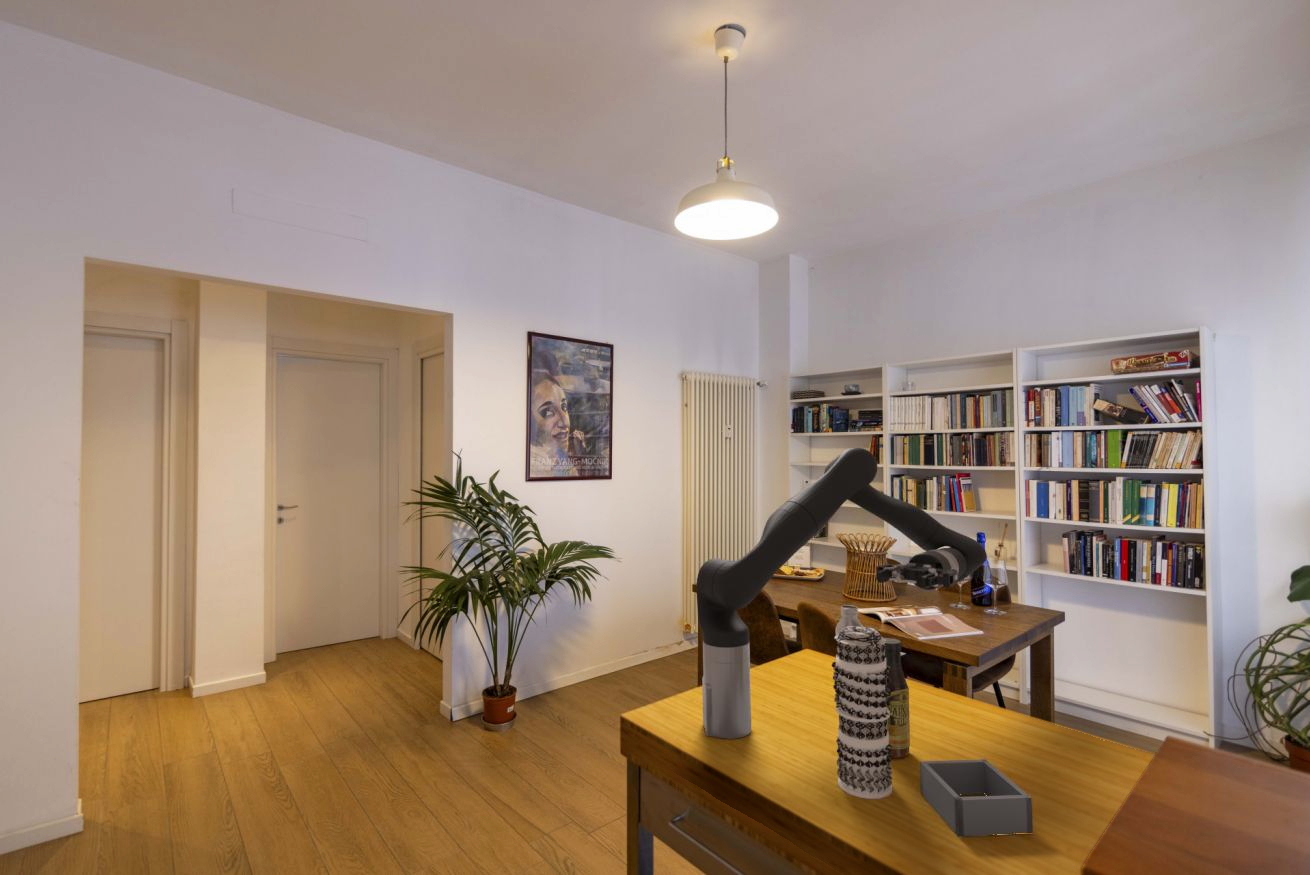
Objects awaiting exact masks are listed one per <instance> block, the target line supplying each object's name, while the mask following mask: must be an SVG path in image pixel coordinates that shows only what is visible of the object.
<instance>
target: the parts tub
mask: <svg viewBox="0 0 1310 875" xmlns="http://www.w3.org/2000/svg"><path fill="white" fill-rule="evenodd" d="M919 777H920V779H919V780H920V795H921V796H922V797H923V798H924V799H925V800H926V801H927V803H928V804H929V805H930V806H931V807H932V808H933V809H934V811H935V812H936V813H937V814H938V815H939V816H940V817H941V819H942V818H943V819H944V820H945V821H944V820H943V819H942V820H943V821H944V822H945V823H946V822H947V823H946V825H948V827H949V826H950V827H951V828H950V827H949V828H950V829H951V830H952V831H953V832H954V834H956V836H957V837H958V838H964V837H965V836H966V837H965V838H968V837H967V836H973V837H984V836H983V835H993V834H994V835H997V834H1014V833H1015V834H1016V833H1033V834H1034V825H1033V824H1034V823H1033V821H1034V820H1033V802H1032V801H1033V800H1032V796H1030V795H1029V794H1027V792H1026V791H1025V790H1023V789H1022V788H1021V787H1019V786H1018V785H1017V784H1016V783H1015V782H1014V781H1012V780H1011V779H1010V778H1009V777H1007V776H1006V775H1005V774H1004V773H1003V772H1001V771H1000V770H999V769H998V768H997V767H996V766H994V765H993V764H992V763H991V762H989V761H988V760H987V759H986V758H985V759H984V758H982V759H956V760H954V759H953V760H951V759H950V760H949V759H948V760H926V761H925V760H923V761H922V760H921V761H919ZM984 793H985V794H986V795H987V796H986V795H985V794H984ZM960 794H961V795H960ZM963 794H964V795H963ZM968 794H981V795H982V796H981V795H980V796H978V795H976V796H969V795H968ZM981 835H982V836H981Z"/></svg>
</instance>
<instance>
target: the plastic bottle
mask: <svg viewBox="0 0 1310 875" xmlns="http://www.w3.org/2000/svg"><path fill="white" fill-rule="evenodd" d="M858 608H859V607H858V606H856V605H851V604H845V605H841V607H840V616H841V618H840V620H839V621H838V622H837V624H836V626H835V629H834V630H835V636H836V635H838V634H839V633H840V631H841V630H842V629H843V628H845V627H848V626H863V624H862V623H861V621H860V620H859V618H858V617H859V612H858V611H859V609H858ZM838 679H839V675H838ZM838 687H839V686H837V688H838Z"/></svg>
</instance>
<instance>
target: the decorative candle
mask: <svg viewBox="0 0 1310 875" xmlns="http://www.w3.org/2000/svg"><path fill="white" fill-rule="evenodd" d="M884 638H885V637H883V636H882V635H881V633H880V632H879V631H878V630H876V629H875V628H873V627H869V626H865V625H862V626H848V627H845V628H843V629H842V630H841V631H840V633H839V634H838V635H836V634H835V636H834V638H833V639H834V640H836V650H837V651H836V655H835V661H833V662H832V663H831V667H832V668H833V676H832V679H833V683H834V684H833V685H832V687H833V689H834V692H835V694H834V700H833V701H834V702H835V705H836V706H835V711H836V713H837V714H838V724H839V725H838V727H837V730H838V732H837V735H838V736H837V739H836V740H835V741H836V744H837V749H836V753H837V756H838V757H837V760H836V765H837V771H836V773H837V776H838V781H837V784H838V786H839V788H840V789H841V790H843V791H844V792H846V793H847V794H848V795H851V796H854V797H857V798H861V799H867V800H879V799H883V798H886V797H889V795H891V794H892V793H893V776H892V774H893V771H892V770H893V766H892V765H891V762H892V755H891V754H890V752H891V747H892V746H891V744H889V732H888V731H887V719H888V718H889V717H890V711H889V710H888V709H887V708H886V707H887V706H890V705H891V701H890V700H889V699H888V698H887V697H888V696H890V695H891V690H890V689H888V688H886V687H885V684H886V686H887V684H889V683H891V678H890V677H889V676H888V675H886V674H889V673H891V668H890V667H889V666H888V665H887V666H886V658H885V643H886V639H884ZM838 675H839V679H838ZM837 686H839V687H838V688H837Z"/></svg>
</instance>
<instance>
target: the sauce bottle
mask: <svg viewBox="0 0 1310 875" xmlns="http://www.w3.org/2000/svg"><path fill="white" fill-rule="evenodd" d="M883 638H884V639H886V643H885V658H886V666H887V665H888V666H889V667H890V668H891V673H889V674H886V675H888V676H889V677H890V678H891V683H889V684H887V686H886V684H885V687H886V688H888V689H890V690H891V695H890V696H888V697H887V698H888V699H889V700H890V701H891V705H890V706H887V707H886V708H887V709H888V710H889V711H890V717H889V718H888V719H887V731H888V732H889V744H891V746H892V747H891V752H890V754H891V755H892V758H893V759H901V758H905V757H906V756H908V754H909V752H910V745H911V739H910V738H911V737H910V734H911V732H910V731H911V730H910V728H911V727H910V688H909V686H908V683H907V680H906V677H905V675H904V671H903V667H902V662H901V660H902V659H901V656H902V655H901V651H902V641H901V640H900V639H897V638H891V637H883ZM892 758H891V759H892Z"/></svg>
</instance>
